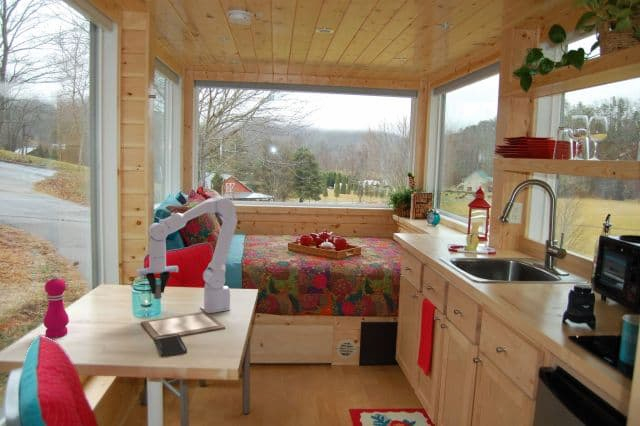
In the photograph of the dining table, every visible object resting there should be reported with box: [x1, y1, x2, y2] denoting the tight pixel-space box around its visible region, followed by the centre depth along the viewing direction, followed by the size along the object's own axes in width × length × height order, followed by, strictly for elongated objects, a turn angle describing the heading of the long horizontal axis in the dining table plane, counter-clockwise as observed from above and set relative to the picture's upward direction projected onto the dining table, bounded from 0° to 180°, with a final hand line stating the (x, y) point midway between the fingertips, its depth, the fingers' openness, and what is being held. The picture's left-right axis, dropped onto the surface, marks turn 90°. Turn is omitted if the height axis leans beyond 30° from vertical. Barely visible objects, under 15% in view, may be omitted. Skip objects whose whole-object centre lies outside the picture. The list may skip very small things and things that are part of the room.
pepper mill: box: [43, 274, 70, 339], centre depth 157 cm, size 7×7×20 cm
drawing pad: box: [140, 311, 226, 341], centre depth 171 cm, size 24×18×1 cm
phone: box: [154, 334, 188, 358], centre depth 153 cm, size 8×1×15 cm
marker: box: [153, 277, 162, 300], centre depth 178 cm, size 3×3×7 cm
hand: (157, 292), depth 178 cm, fingers closed on marker, 3 cm apart
